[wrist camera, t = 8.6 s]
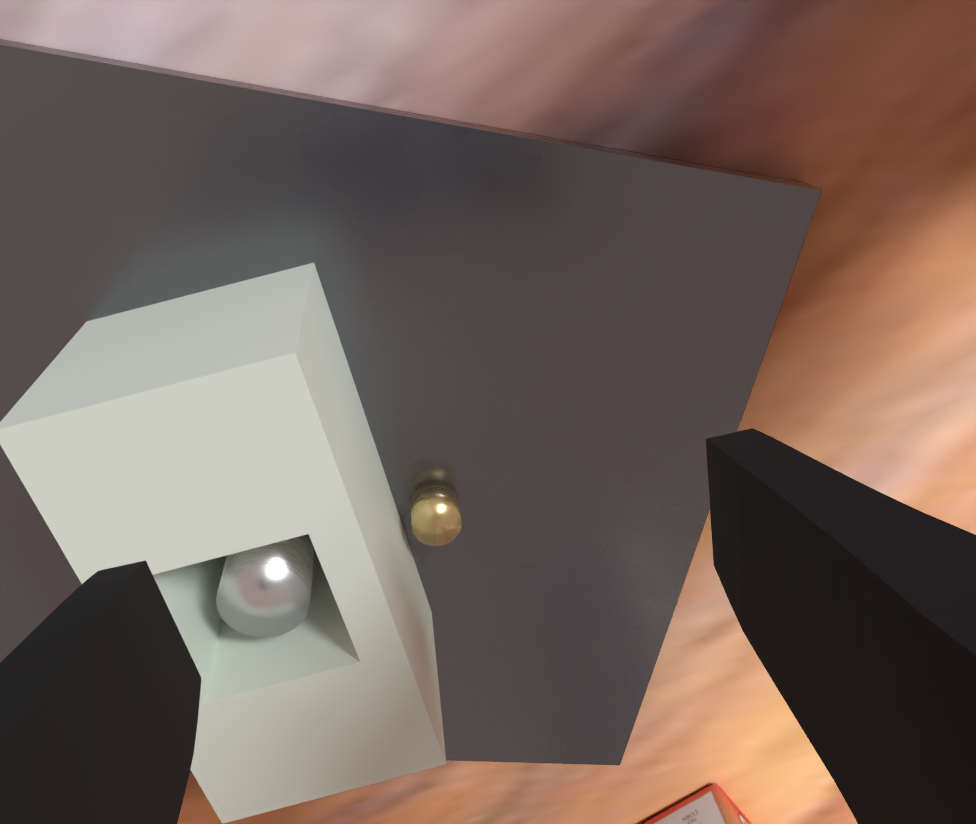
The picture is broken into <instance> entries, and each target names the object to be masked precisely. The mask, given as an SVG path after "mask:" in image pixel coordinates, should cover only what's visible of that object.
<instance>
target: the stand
mask: <svg viewBox="0 0 976 824" xmlns="http://www.w3.org/2000/svg"><path fill="white" fill-rule="evenodd" d="M821 191H822V190H819V189H817V188H815V187H813V186H810V185H808V184H806V183H802V182H796V181H790V180H785V179H779V178H774V177H768V176H762V175H757V174H751V173H746V172H740V171H734V170H729V169H723V168H718V167H712V166H706V165H701V164H695V163H690V162H684V161H679V160H673V159H667V158H662V157H656V156H651V155H645V154H639V153H634V152H628V151H623V150H617V149H611V148H606V147H600V146H595V145H589V144H583V143H578V142H572V141H567V140H561V139H555V138H550V137H544V136H539V135H533V134H528V133H522V132H516V131H511V130H505V129H500V128H494V127H488V126H483V125H477V124H472V123H466V122H460V121H455V120H449V119H444V118H438V117H432V116H427V115H421V114H416V113H410V112H404V111H399V110H393V109H388V108H382V107H377V106H371V105H365V104H360V103H354V102H349V101H343V100H337V99H332V98H326V97H321V96H315V95H309V94H304V93H298V92H293V91H287V90H281V89H276V88H270V87H265V86H259V85H253V84H248V83H242V82H237V81H231V80H225V79H220V78H214V77H209V76H203V75H198V74H192V73H186V72H181V71H175V70H170V69H164V68H158V67H153V66H147V65H142V64H136V63H130V62H125V61H119V60H114V59H108V58H102V57H97V56H91V55H86V54H80V53H74V52H69V51H63V50H58V49H52V48H47V47H41V46H35V45H30V44H24V43H19V42H13V41H7V40H2V39H0V422H1V421H2V419H3V418H4V417H5V416H6V415H7V414H8V412H9V411H10V410H11V409H12V408H13V407H14V405H15V404H16V403H17V402H18V401H19V400H20V398H21V397H22V396H23V395H24V394H25V393H26V391H27V390H28V389H29V388H30V387H31V386H32V384H33V383H34V382H35V381H36V380H37V379H38V377H39V376H40V375H41V374H42V373H43V372H44V370H45V369H46V368H47V367H48V366H49V365H50V363H51V362H52V361H53V360H54V359H55V358H56V356H57V355H58V354H59V353H60V352H61V351H62V349H63V348H64V347H65V346H66V345H67V344H68V343H69V341H70V340H71V339H72V338H73V337H74V336H75V334H76V333H77V332H78V331H79V330H80V329H81V327H82V326H83V325H84V324H85V323H86V322H87V321H90V320H94V319H98V318H102V317H106V316H110V315H113V314H117V313H121V312H125V311H129V310H133V309H137V308H140V307H144V306H148V305H152V304H156V303H160V302H164V301H167V300H171V299H175V298H179V297H183V296H187V295H191V294H194V293H198V292H202V291H206V290H210V289H214V288H218V287H222V286H225V285H229V284H233V283H237V282H241V281H245V280H249V279H252V278H256V277H260V276H264V275H268V274H272V273H276V272H279V271H283V270H287V269H291V268H295V267H299V266H303V265H306V264H310V263H314V264H315V267H316V270H317V273H318V276H319V279H320V282H321V285H322V288H323V291H324V294H325V297H326V300H327V303H328V306H329V309H330V312H331V315H332V318H333V321H334V324H335V327H336V330H337V333H338V336H339V338H340V341H341V344H342V347H343V350H344V353H345V356H346V359H347V362H348V365H349V368H350V371H351V374H352V377H353V380H354V383H355V386H356V389H357V392H358V395H359V398H360V401H361V404H362V407H363V410H364V413H365V416H366V419H367V422H368V425H369V428H370V431H371V434H372V437H373V439H374V442H375V445H376V448H377V451H378V454H379V457H380V460H381V463H382V466H383V469H384V472H385V475H386V478H387V481H388V484H389V487H390V490H391V493H392V496H393V499H394V502H395V505H396V508H397V511H398V514H399V517H400V520H401V523H402V526H403V529H404V532H405V535H406V538H407V540H408V543H409V546H410V549H411V552H412V555H413V558H414V561H415V564H416V567H417V570H418V573H419V576H420V579H421V582H422V585H423V588H424V591H425V594H426V597H427V600H428V603H429V606H430V609H431V612H432V621H433V632H434V642H435V652H436V662H437V672H438V683H439V693H440V703H441V713H442V724H443V734H444V744H445V754H446V760H459V761H494V762H528V763H563V764H597V765H620V763H621V760H622V757H623V755H624V752H625V749H626V746H627V743H628V740H629V737H630V735H631V732H632V729H633V726H634V723H635V720H636V718H637V715H638V712H639V709H640V706H641V703H642V700H643V698H644V695H645V692H646V689H647V686H648V683H649V681H650V678H651V675H652V672H653V669H654V666H655V663H656V661H657V658H658V655H659V652H660V649H661V646H662V644H663V641H664V638H665V635H666V632H667V629H668V626H669V624H670V621H671V618H672V615H673V612H674V609H675V607H676V604H677V601H678V598H679V595H680V592H681V589H682V587H683V584H684V581H685V578H686V575H687V572H688V570H689V567H690V564H691V561H692V558H693V555H694V552H695V550H696V547H697V544H698V541H699V538H700V535H701V533H702V530H703V527H704V524H705V521H706V518H707V515H708V513H709V510H710V497H709V482H708V467H707V451H706V439H707V438H711V437H716V436H720V435H725V434H730V433H734V432H737V430H738V427H739V424H740V422H741V419H742V416H743V413H744V410H745V407H746V404H747V402H748V399H749V396H750V393H751V390H752V387H753V384H754V382H755V379H756V376H757V373H758V370H759V367H760V365H761V362H762V359H763V356H764V353H765V350H766V347H767V345H768V342H769V339H770V336H771V333H772V330H773V328H774V325H775V322H776V319H777V316H778V313H779V310H780V308H781V305H782V302H783V299H784V296H785V293H786V291H787V288H788V285H789V282H790V279H791V276H792V273H793V271H794V268H795V265H796V262H797V259H798V256H799V254H800V251H801V248H802V245H803V242H804V239H805V236H806V234H807V231H808V228H809V225H810V222H811V219H812V217H813V214H814V211H815V208H816V205H817V202H818V199H819V197H820V194H821ZM314 557H315V549H314V546H313V544H312V541H311V539H310V536H309V534H307V535H303V536H299V537H295V538H291V539H287V540H284V541H280V542H276V543H272V544H268V545H265V546H261V547H257V548H253V549H249V550H245V551H242V552H238V553H234V554H230V555H227V556H226V560H225V564H224V568H223V572H222V576H221V580H220V584H219V588H218V592H217V597H216V605H217V609H218V612H219V614H220V616H221V617H222V619H223V620H224V621H225V622H226V623H227V624H228V625H229V626H230V627H232V628H233V629H235V630H236V631H238V632H240V633H243V634H246V635H249V636H254V637H273V636H278V635H282V634H285V633H287V632H289V631H291V630H293V629H294V628H296V627H297V626H298V625H299V624H300V623H301V622H302V621H303V620H304V618H305V617H306V615H307V613H308V610H309V606H310V597H311V587H312V577H313V567H314ZM80 585H82V584H81V582H80V580H79V578H78V577H77V575H76V573H75V572H74V570H73V568H72V566H71V565H70V563H69V561H68V560H67V558H66V556H65V554H64V553H63V551H62V549H61V548H60V546H59V544H58V542H57V541H56V539H55V537H54V536H53V534H52V532H51V531H50V529H49V527H48V525H47V524H46V522H45V520H44V519H43V517H42V515H41V513H40V512H39V510H38V508H37V507H36V505H35V503H34V501H33V500H32V498H31V496H30V495H29V493H28V491H27V490H26V488H25V486H24V484H23V483H22V481H21V479H20V478H19V476H18V474H17V472H16V471H15V469H14V467H13V466H12V464H11V462H10V460H9V459H8V457H7V455H6V454H5V452H4V450H3V449H2V447H1V445H0V662H1V661H2V660H4V659H5V658H6V657H7V656H8V655H9V654H10V653H11V652H12V651H13V650H14V649H15V648H16V647H17V646H18V645H19V644H20V643H21V642H22V641H23V640H24V639H25V638H26V637H27V636H28V635H29V634H30V633H31V632H32V631H33V630H34V629H35V628H36V627H37V626H38V625H39V624H40V623H41V622H42V621H43V620H44V619H46V618H47V617H48V616H49V615H50V614H51V613H52V612H53V611H54V610H55V609H56V608H57V607H58V606H59V605H60V604H61V603H62V602H63V601H64V600H65V599H66V598H67V597H68V596H70V595H71V594H72V593H73V592H74V591H75V590H76V589H77V588H78V587H79V586H80Z"/></svg>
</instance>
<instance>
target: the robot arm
mask: <svg viewBox="0 0 976 824" xmlns="http://www.w3.org/2000/svg"><path fill="white" fill-rule="evenodd" d="M706 451H707V467H708V482H709V497H710V513H711V528H712V544H713V559H714V567H715V569H716V571H717V574H718V576H719V578H720V580H721V583H722V585H723V587H724V590H725V592H726V594H727V597H728V599H729V601H730V604H731V606H732V608H733V610H734V612H735V614H736V617H737V619H738V621H739V623H740V625H741V628H742V630H743V632H744V633H745V635H746V637H747V639H748V640H749V642H750V644H751V645H752V647H753V649H754V650H755V652H756V654H757V655H758V657H759V659H760V660H761V662H762V664H763V665H764V667H765V669H766V670H767V672H768V673H769V675H770V677H771V678H772V680H773V682H774V683H775V685H776V687H777V688H778V690H779V692H780V693H781V695H782V696H783V698H784V700H785V701H786V703H787V705H788V706H789V708H790V709H791V711H792V713H793V714H794V716H795V718H796V719H797V721H798V722H799V724H800V726H801V727H802V729H803V731H804V732H805V734H806V735H807V737H808V739H809V740H810V742H811V744H812V745H813V747H814V748H815V750H816V752H817V753H818V755H819V757H820V758H821V760H822V762H823V763H824V765H825V766H826V768H827V770H828V771H829V773H830V775H831V776H832V778H833V779H834V781H835V783H836V785H837V786H838V788H839V790H840V792H841V793H842V795H843V797H844V799H845V801H846V802H847V804H848V806H849V808H850V810H851V811H852V813H853V815H854V817H855V819H856V821H857V823H858V824H976V535H974V534H972V533H970V532H967V531H965V530H963V529H960V528H958V527H956V526H953V525H951V524H949V523H946V522H944V521H942V520H939V519H937V518H935V517H932V516H930V515H927V514H925V513H923V512H921V511H919V510H916V509H914V508H912V507H910V506H908V505H905V504H903V503H901V502H899V501H897V500H895V499H893V498H890V497H888V496H886V495H884V494H882V493H880V492H878V491H876V490H874V489H872V488H870V487H868V486H866V485H864V484H862V483H860V482H858V481H856V480H854V479H852V478H850V477H848V476H846V475H844V474H842V473H840V472H838V471H836V470H834V469H832V468H830V467H828V466H826V465H824V464H822V463H820V462H819V461H817V460H815V459H813V458H811V457H809V456H807V455H805V454H803V453H801V452H799V451H797V450H795V449H794V448H792V447H790V446H788V445H786V444H784V443H782V442H780V441H778V440H776V439H774V438H772V437H770V436H768V435H766V434H764V433H762V432H759V431H757V430H755V429H748V430H743V431H739V432H734V433H730V434H725V435H720V436H716V437H711V438H707V439H706ZM200 690H201V676H200V674H199V672H198V670H197V668H196V665H195V663H194V661H193V659H192V657H191V655H190V653H189V651H188V649H187V646H186V644H185V642H184V640H183V638H182V636H181V634H180V632H179V630H178V627H177V625H176V623H175V621H174V619H173V617H172V615H171V613H170V611H169V608H168V606H167V604H166V602H165V600H164V598H163V596H162V594H161V592H160V589H159V587H158V585H157V583H156V581H155V579H154V577H153V575H152V573H151V570H150V568H149V566H148V564H147V562H146V560H145V561H141V562H136V563H132V564H127V565H122V566H118V567H113V568H109V569H104V570H99V571H97V572H96V573H95V574H94V575H92V576H91V577H90V578H89V579H87V580H86V581H85V582H84V583H83V584H82V585H80V586H79V587H78V588H77V589H76V590H75V591H74V592H73V593H72V594H71V595H70V596H68V597H67V598H66V599H65V600H64V601H63V602H62V603H61V604H60V605H59V606H58V607H57V608H56V609H55V610H54V611H53V612H52V613H51V614H50V615H49V616H48V617H47V618H46V619H44V620H43V621H42V622H41V623H40V624H39V625H38V626H37V627H36V628H35V629H34V630H33V631H32V632H31V633H30V634H29V635H28V636H27V637H26V638H25V639H24V640H23V641H22V642H21V643H20V644H19V645H18V646H17V647H16V648H15V649H14V650H13V651H12V652H11V653H10V654H9V655H8V656H7V657H6V658H5V659H4V660H2V661H1V662H0V824H177V822H178V818H179V814H180V809H181V805H182V801H183V797H184V793H185V789H186V785H187V780H188V776H189V772H190V768H191V763H192V759H193V754H194V747H195V739H196V731H197V722H198V712H199V701H200Z"/></svg>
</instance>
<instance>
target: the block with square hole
mask: <svg viewBox="0 0 976 824" xmlns="http://www.w3.org/2000/svg"><path fill="white" fill-rule="evenodd" d="M0 445H1V447H2V449H3V450H4V452H5V454H6V455H7V457H8V459H9V460H10V462H11V464H12V466H13V467H14V469H15V471H16V472H17V474H18V476H19V478H20V479H21V481H22V483H23V484H24V486H25V488H26V490H27V491H28V493H29V495H30V496H31V498H32V500H33V501H34V503H35V505H36V507H37V508H38V510H39V512H40V513H41V515H42V517H43V519H44V520H45V522H46V524H47V525H48V527H49V529H50V531H51V532H52V534H53V536H54V537H55V539H56V541H57V542H58V544H59V546H60V548H61V549H62V551H63V553H64V554H65V556H66V558H67V560H68V561H69V563H70V565H71V566H72V568H73V570H74V572H75V573H76V575H77V577H78V578H79V580H80V582H81V584H83V583H84V582H85V581H86V580H87V579H89V578H90V577H91V576H92V575H94V574H95V573H96V572H97V571H99V570H104V569H109V568H113V567H118V566H122V565H127V564H132V563H136V562H141V561H145V560H146V562H147V564H148V566H149V568H150V570H151V573H152V575H153V577H154V579H155V581H156V583H157V585H158V587H159V589H160V592H161V594H162V596H163V598H164V600H165V602H166V604H167V606H168V608H169V611H170V613H171V615H172V617H173V619H174V621H175V623H176V625H177V627H178V630H179V632H180V634H181V636H182V638H183V640H184V642H185V644H186V646H187V649H188V651H189V653H190V655H191V657H192V659H193V661H194V663H195V665H196V668H197V670H198V672H199V674H200V676H201V690H200V701H199V712H198V722H197V731H196V739H195V747H194V754H193V759H192V763H191V768H190V770H191V771H192V773H193V775H194V777H195V778H196V780H197V782H198V783H199V785H200V787H201V789H202V790H203V792H204V794H205V795H206V797H207V799H208V800H209V802H210V804H211V806H212V807H213V809H214V811H215V812H216V814H217V816H218V818H219V819H220V821H221V823H222V824H224V823H227V822H231V821H235V820H239V819H243V818H246V817H250V816H254V815H258V814H261V813H265V812H269V811H273V810H277V809H280V808H284V807H288V806H292V805H295V804H299V803H303V802H307V801H311V800H314V799H318V798H322V797H326V796H329V795H333V794H337V793H341V792H345V791H348V790H352V789H356V788H360V787H363V786H367V785H371V784H375V783H379V782H382V781H386V780H390V779H394V778H397V777H401V776H405V775H409V774H413V773H416V772H420V771H424V770H428V769H431V768H435V767H439V766H443V765H447V764H446V754H445V744H444V734H443V724H442V713H441V703H440V693H439V683H438V672H437V662H436V652H435V642H434V632H433V621H432V612H431V609H430V606H429V603H428V600H427V597H426V594H425V591H424V588H423V585H422V582H421V579H420V576H419V573H418V570H417V567H416V564H415V561H414V558H413V555H412V552H411V549H410V546H409V543H408V540H407V538H406V535H405V532H404V529H403V526H402V523H401V520H400V517H399V514H398V511H397V508H396V505H395V502H394V499H393V496H392V493H391V490H390V487H389V484H388V481H387V478H386V475H385V472H384V469H383V466H382V463H381V460H380V457H379V454H378V451H377V448H376V445H375V442H374V439H373V437H372V434H371V431H370V428H369V425H368V422H367V419H366V416H365V413H364V410H363V407H362V404H361V401H360V398H359V395H358V392H357V389H356V386H355V383H354V380H353V377H352V374H351V371H350V368H349V365H348V362H347V359H346V356H345V353H344V350H343V347H342V344H341V341H340V338H339V336H338V333H337V330H336V327H335V324H334V321H333V318H332V315H331V312H330V309H329V306H328V303H327V300H326V297H325V294H324V291H323V288H322V285H321V282H320V279H319V276H318V273H317V270H316V267H315V264H314V263H310V264H306V265H303V266H299V267H295V268H291V269H287V270H283V271H279V272H276V273H272V274H268V275H264V276H260V277H256V278H252V279H249V280H245V281H241V282H237V283H233V284H229V285H225V286H222V287H218V288H214V289H210V290H206V291H202V292H198V293H194V294H191V295H187V296H183V297H179V298H175V299H171V300H167V301H164V302H160V303H156V304H152V305H148V306H144V307H140V308H137V309H133V310H129V311H125V312H121V313H117V314H113V315H110V316H106V317H102V318H98V319H94V320H90V321H87V322H86V323H85V324H84V325H83V326H82V327H81V329H80V330H79V331H78V332H77V333H76V334H75V336H74V337H73V338H72V339H71V340H70V341H69V343H68V344H67V345H66V346H65V347H64V348H63V349H62V351H61V352H60V353H59V354H58V355H57V356H56V358H55V359H54V360H53V361H52V362H51V363H50V365H49V366H48V367H47V368H46V369H45V370H44V372H43V373H42V374H41V375H40V376H39V377H38V379H37V380H36V381H35V382H34V383H33V384H32V386H31V387H30V388H29V389H28V390H27V391H26V393H25V394H24V395H23V396H22V397H21V398H20V400H19V401H18V402H17V403H16V404H15V405H14V407H13V408H12V409H11V410H10V411H9V412H8V414H7V415H6V416H5V417H4V418H3V419H2V421H1V422H0ZM307 534H309V536H310V539H311V541H312V544H313V546H314V549H315V557H314V567H313V577H312V587H311V597H310V606H309V610H308V613H307V615H306V617H305V618H304V620H303V621H302V622H301V623H300V624H299V625H298V626H297V627H296V628H294V629H293V630H291V631H289V632H287V633H285V634H282V635H278V636H273V637H254V636H249V635H246V634H243V633H240V632H238V631H236V630H235V629H233V628H232V627H230V626H229V625H228V624H227V623H226V622H225V621H224V620H223V619H222V617H221V616H220V614H219V612H218V609H217V605H216V597H217V592H218V588H219V584H220V580H221V576H222V572H223V568H224V564H225V560H226V556H227V555H230V554H234V553H238V552H242V551H245V550H249V549H253V548H257V547H261V546H265V545H268V544H272V543H276V542H280V541H284V540H287V539H291V538H295V537H299V536H303V535H307Z"/></svg>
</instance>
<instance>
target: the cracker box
mask: <svg viewBox="0 0 976 824" xmlns="http://www.w3.org/2000/svg"><path fill="white" fill-rule="evenodd" d="M643 824H752V823H751V822H750V821H749V820H748V819H747V818H746V817H745V815H744V814H743V813H742V812H741V811H740V810H739V809H738V807H737V806H736V805H735V804H734V803H733V802H732V800H731V799H730V798H729V797H728V796H727V795H726V793H725V792H724V791H723V790H722V789H721V788H720V787H719V786H718V785H717V784H715V783H713V784H711V785H709V786H708V787H706V788H704V789H702V790H701V791H699V792H697V793H695V794H694V795H692V796H691V797H689V798H687V799H686V800H684V801H682V802H680V803H678V804H677V805H675V806H673V807H671V808H669V809H667V810H666V811H664V812H662V813H660V814H659V815H657V816H655V817H653V818H652V819H650V820H648V821H646V822H645V823H643Z"/></svg>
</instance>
